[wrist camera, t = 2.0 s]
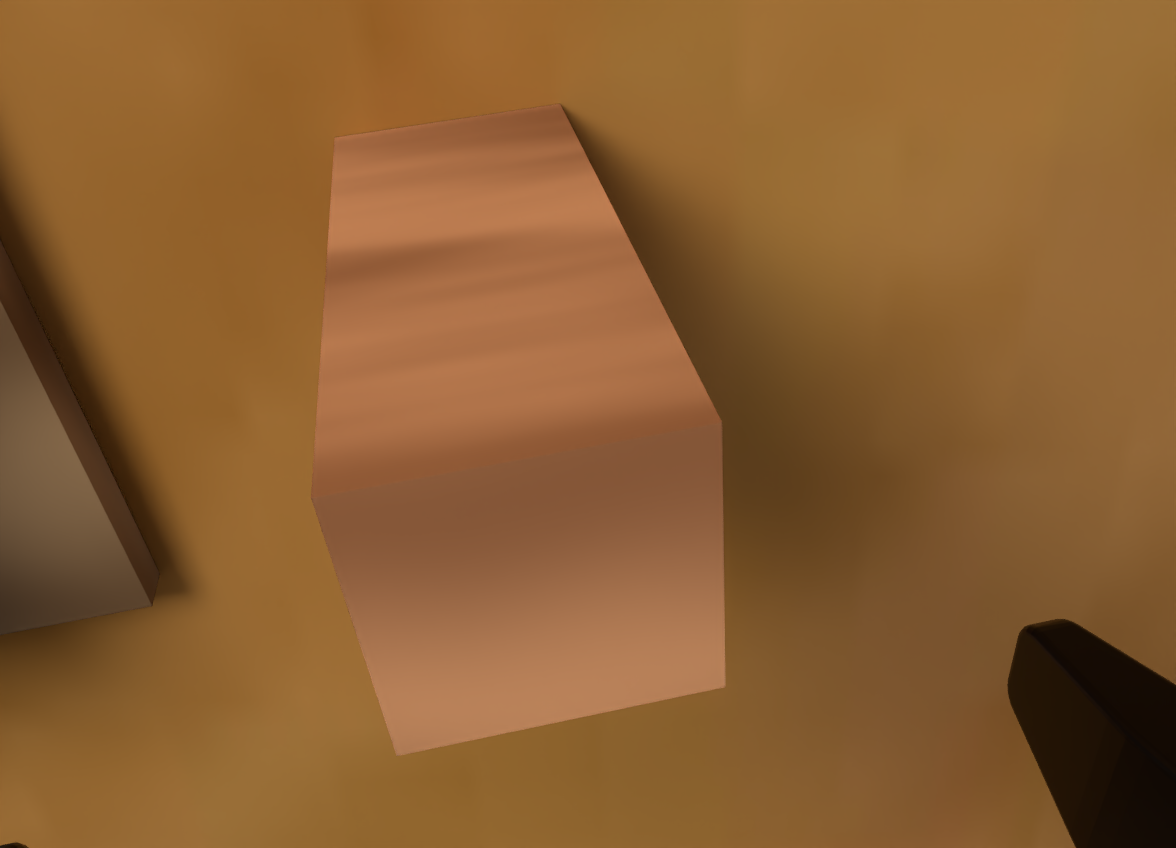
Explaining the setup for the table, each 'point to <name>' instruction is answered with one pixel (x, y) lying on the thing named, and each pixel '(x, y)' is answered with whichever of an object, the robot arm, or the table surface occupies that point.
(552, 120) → the peg
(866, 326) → the table surface
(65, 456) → the socket board
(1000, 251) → the table surface
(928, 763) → the table surface
